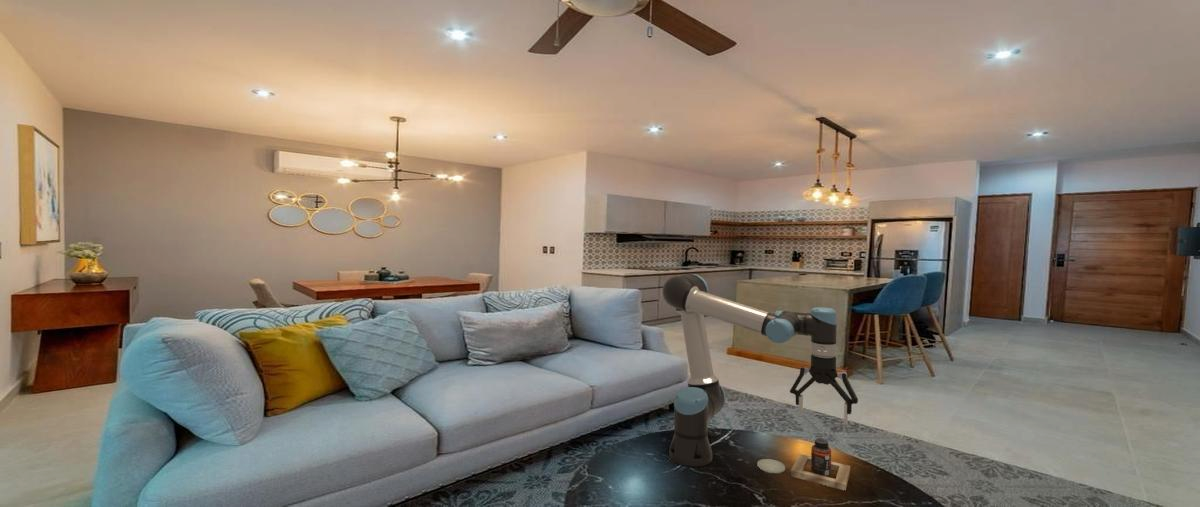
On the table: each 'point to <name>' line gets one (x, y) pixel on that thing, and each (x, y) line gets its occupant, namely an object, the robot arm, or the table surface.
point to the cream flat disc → (771, 466)
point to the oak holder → (835, 483)
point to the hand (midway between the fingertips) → (822, 419)
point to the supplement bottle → (821, 458)
